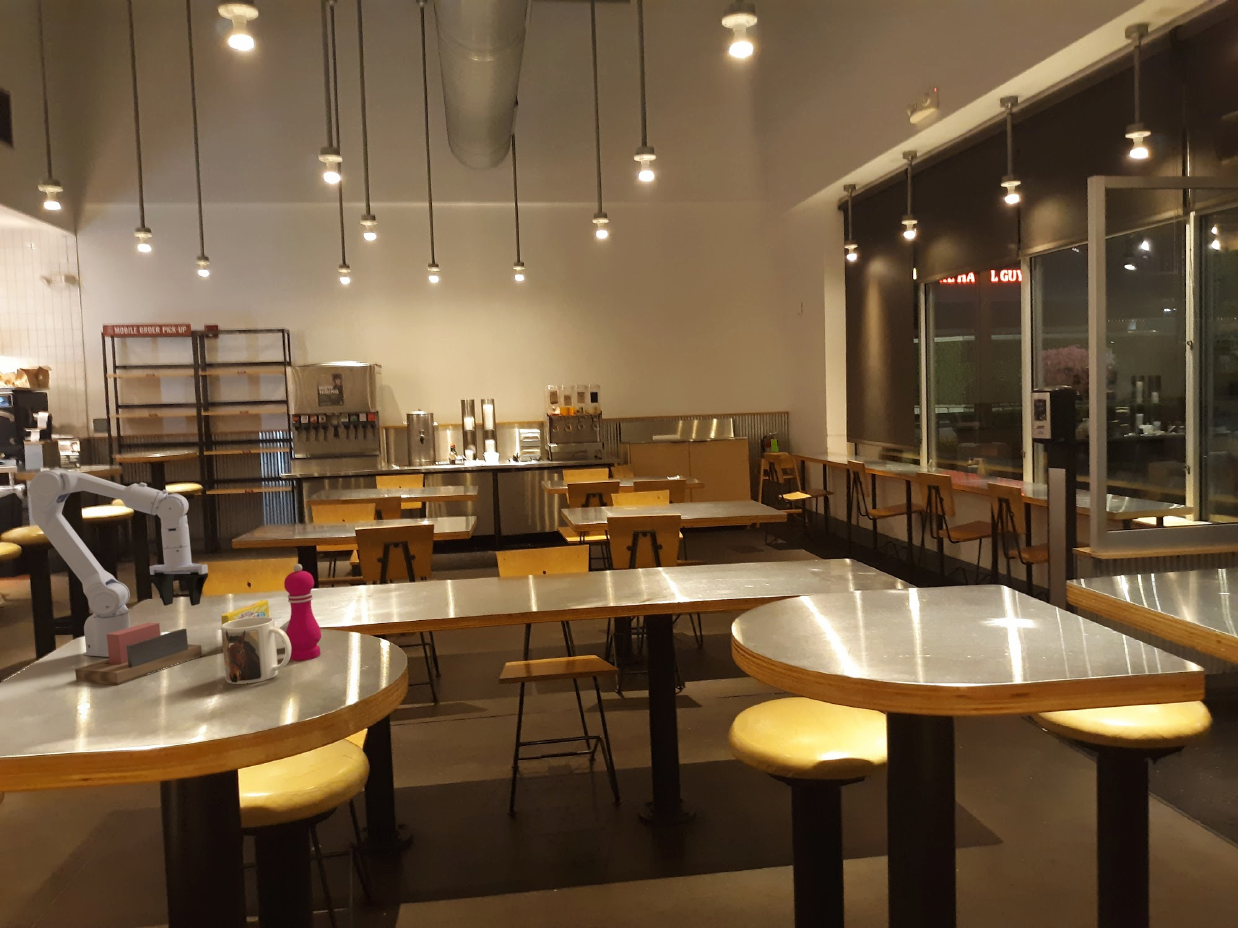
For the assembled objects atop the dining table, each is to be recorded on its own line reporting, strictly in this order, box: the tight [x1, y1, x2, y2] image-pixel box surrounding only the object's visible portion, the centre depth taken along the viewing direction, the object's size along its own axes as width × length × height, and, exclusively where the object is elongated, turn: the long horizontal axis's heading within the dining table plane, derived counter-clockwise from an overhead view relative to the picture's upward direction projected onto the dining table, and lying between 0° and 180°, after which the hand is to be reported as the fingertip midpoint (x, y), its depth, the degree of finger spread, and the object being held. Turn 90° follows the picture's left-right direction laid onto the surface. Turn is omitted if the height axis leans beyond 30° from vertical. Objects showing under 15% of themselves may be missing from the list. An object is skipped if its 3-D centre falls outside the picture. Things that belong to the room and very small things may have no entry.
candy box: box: [220, 600, 270, 626], centre depth 217 cm, size 16×2×8 cm, turn 168°
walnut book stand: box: [74, 643, 203, 686], centre depth 199 cm, size 12×21×2 cm, turn 157°
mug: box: [220, 616, 292, 685], centre depth 186 cm, size 10×12×11 cm
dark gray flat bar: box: [126, 628, 189, 668], centre depth 197 cm, size 1×14×4 cm, turn 157°
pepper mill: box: [283, 563, 322, 661], centre depth 200 cm, size 7×7×20 cm
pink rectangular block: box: [107, 622, 161, 665], centre depth 199 cm, size 4×10×8 cm, turn 157°
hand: (181, 604), depth 218 cm, fingers open, 7 cm apart
